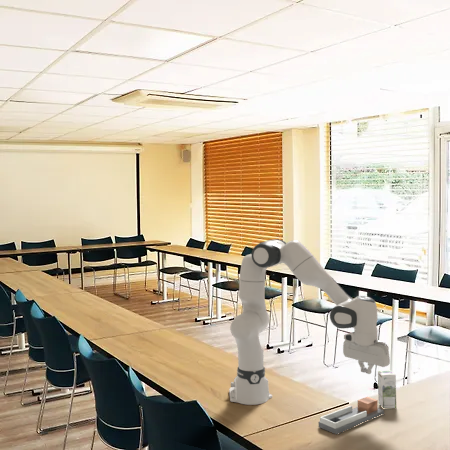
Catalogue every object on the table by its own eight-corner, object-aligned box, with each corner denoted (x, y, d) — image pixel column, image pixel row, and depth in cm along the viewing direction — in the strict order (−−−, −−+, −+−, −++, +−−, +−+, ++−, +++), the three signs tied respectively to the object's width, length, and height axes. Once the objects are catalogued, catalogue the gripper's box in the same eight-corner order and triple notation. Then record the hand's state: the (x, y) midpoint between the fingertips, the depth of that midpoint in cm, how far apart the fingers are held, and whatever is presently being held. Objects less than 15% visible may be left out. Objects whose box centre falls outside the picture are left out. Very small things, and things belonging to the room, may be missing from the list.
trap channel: (336, 434, 208) (336, 424, 208) (318, 426, 216) (318, 416, 215) (384, 415, 226) (384, 405, 225) (365, 408, 233) (365, 399, 232)
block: (367, 413, 222) (367, 403, 222) (357, 410, 226) (357, 400, 226) (377, 410, 226) (377, 400, 226) (367, 406, 230) (367, 396, 230)
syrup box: (392, 404, 237) (391, 369, 236) (397, 409, 231) (395, 373, 230) (378, 405, 237) (377, 370, 236) (383, 410, 231) (381, 374, 230)
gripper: (393, 341, 217) (393, 377, 218) (350, 331, 233) (351, 365, 234) (383, 344, 214) (383, 381, 214) (340, 334, 230) (340, 368, 230)
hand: (366, 372), depth 224 cm, fingers closed
